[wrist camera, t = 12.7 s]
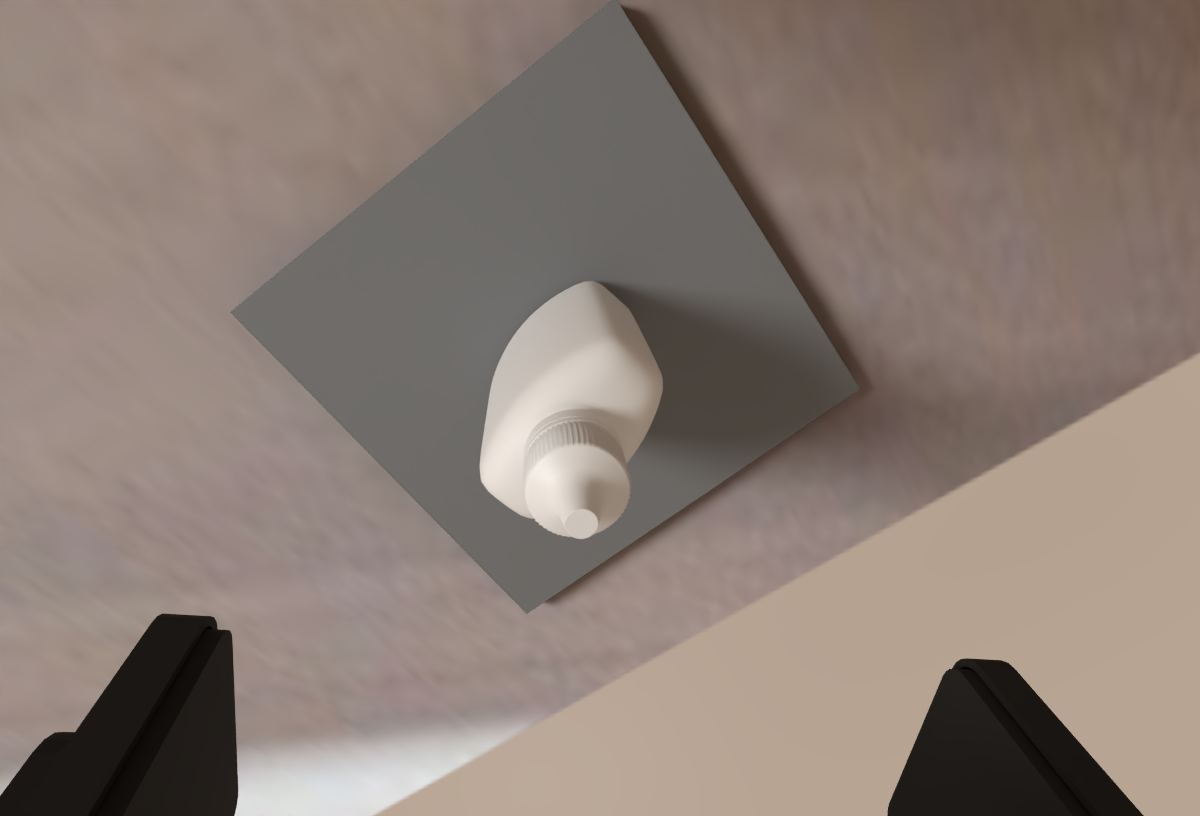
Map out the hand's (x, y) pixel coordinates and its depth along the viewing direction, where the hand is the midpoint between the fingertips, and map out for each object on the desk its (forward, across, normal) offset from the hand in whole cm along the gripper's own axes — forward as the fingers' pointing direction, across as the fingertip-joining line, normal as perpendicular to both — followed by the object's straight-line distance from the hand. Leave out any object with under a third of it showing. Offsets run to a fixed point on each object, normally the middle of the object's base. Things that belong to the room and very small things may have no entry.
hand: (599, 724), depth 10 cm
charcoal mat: (+19, -1, +1) cm, 19 cm away
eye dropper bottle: (+18, -1, +1) cm, 18 cm away
